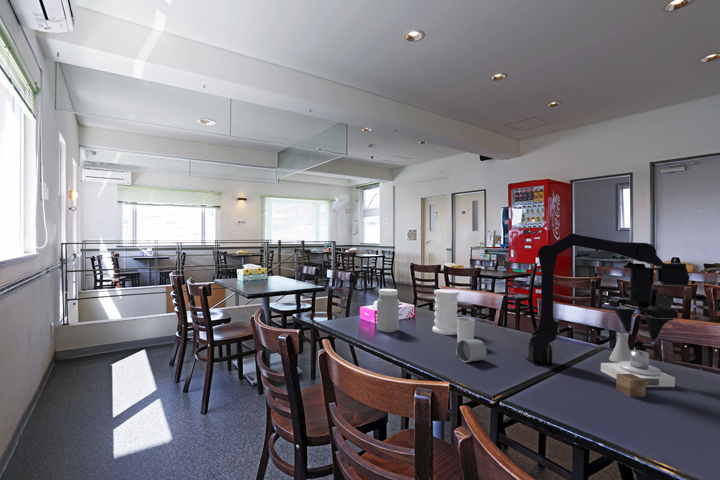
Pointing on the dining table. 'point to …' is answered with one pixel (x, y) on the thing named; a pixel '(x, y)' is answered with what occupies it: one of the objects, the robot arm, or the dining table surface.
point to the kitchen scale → (639, 374)
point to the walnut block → (631, 385)
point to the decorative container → (445, 311)
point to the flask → (621, 349)
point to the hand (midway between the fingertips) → (640, 335)
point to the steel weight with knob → (639, 359)
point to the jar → (387, 310)
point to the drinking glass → (465, 328)
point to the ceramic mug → (471, 350)
